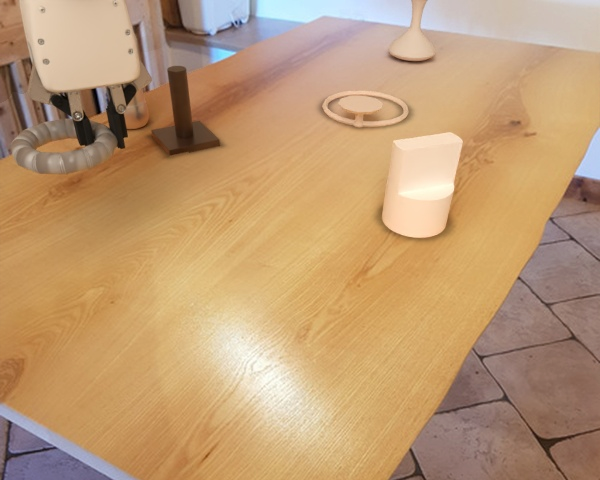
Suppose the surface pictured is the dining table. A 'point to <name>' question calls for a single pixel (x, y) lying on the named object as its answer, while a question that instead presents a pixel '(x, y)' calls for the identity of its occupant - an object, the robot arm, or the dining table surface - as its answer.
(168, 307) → the dining table surface
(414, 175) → the cylinder with rectangular tab
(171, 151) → the stand
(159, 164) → the dining table surface
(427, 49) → the flower in vase
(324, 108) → the hand towel holder
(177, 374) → the dining table surface
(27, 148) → the segmented ring
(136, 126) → the plastic bottle
